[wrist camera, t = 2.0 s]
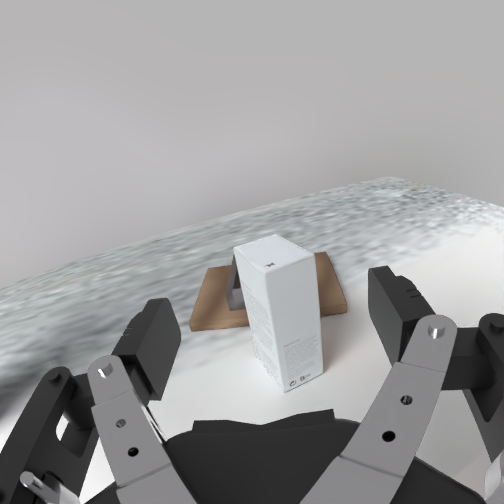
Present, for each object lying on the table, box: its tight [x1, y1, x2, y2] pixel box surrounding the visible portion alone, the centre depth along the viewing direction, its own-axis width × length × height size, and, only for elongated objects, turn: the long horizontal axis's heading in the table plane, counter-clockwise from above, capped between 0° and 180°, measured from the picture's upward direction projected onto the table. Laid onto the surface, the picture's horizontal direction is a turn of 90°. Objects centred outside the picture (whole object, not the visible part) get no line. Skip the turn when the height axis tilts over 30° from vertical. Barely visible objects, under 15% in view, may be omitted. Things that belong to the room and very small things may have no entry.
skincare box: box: [234, 234, 323, 392], centre depth 26 cm, size 6×4×12 cm
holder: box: [189, 252, 347, 331], centre depth 40 cm, size 18×14×4 cm
